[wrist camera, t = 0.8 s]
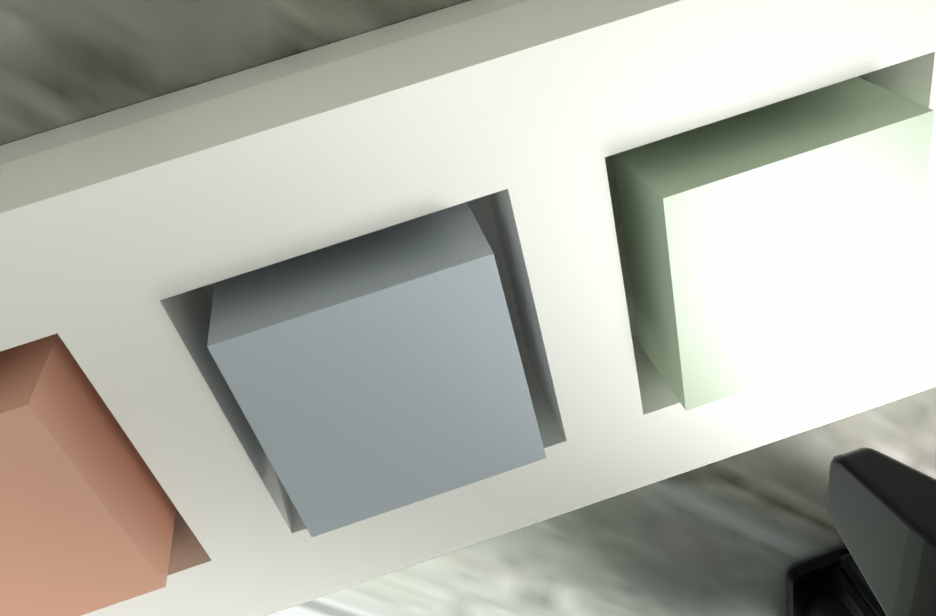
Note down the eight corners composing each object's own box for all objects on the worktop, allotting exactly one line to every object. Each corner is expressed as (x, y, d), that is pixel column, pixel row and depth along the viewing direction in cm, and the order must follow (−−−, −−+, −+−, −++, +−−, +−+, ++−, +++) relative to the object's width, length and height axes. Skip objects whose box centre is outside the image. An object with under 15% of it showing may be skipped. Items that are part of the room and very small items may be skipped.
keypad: (877, 286, 25) (985, 369, 21) (-50, 596, 23) (-110, 744, 20) (908, -135, 18) (1074, -123, 14) (-390, 266, 17) (-580, 394, 13)
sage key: (840, 278, 20) (910, 334, 18) (640, 345, 20) (685, 410, 18) (848, 73, 17) (934, 110, 15) (611, 148, 17) (663, 198, 15)
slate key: (515, 386, 20) (546, 458, 18) (307, 456, 20) (311, 537, 18) (463, 196, 17) (493, 253, 15) (215, 275, 17) (206, 346, 14)
